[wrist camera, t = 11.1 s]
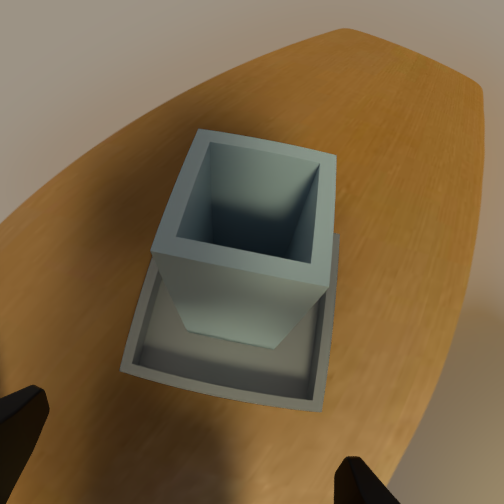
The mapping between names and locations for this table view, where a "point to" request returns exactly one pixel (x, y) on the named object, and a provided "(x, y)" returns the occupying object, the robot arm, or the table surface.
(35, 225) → the table surface
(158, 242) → the slim crate
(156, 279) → the shallow crate
